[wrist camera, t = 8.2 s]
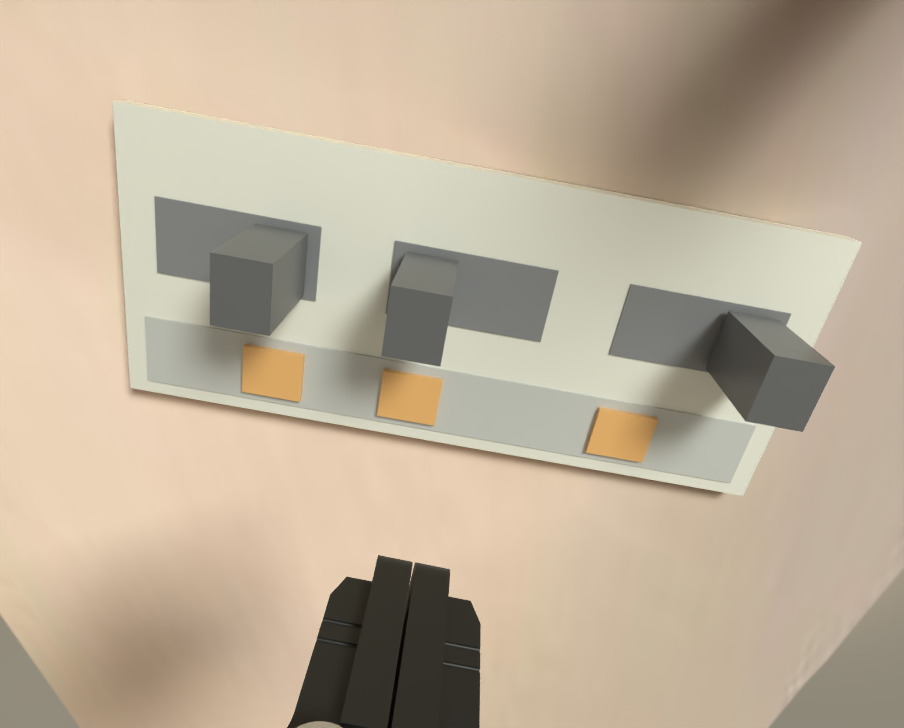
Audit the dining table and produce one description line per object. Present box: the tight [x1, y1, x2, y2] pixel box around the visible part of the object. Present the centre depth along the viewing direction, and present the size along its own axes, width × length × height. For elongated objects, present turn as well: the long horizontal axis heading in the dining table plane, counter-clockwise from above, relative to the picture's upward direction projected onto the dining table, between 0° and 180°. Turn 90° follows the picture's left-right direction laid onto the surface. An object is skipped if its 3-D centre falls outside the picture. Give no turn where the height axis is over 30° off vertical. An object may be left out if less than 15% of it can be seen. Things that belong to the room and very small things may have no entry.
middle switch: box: [381, 251, 459, 367], centre depth 26 cm, size 3×2×5 cm
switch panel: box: [112, 100, 862, 496], centre depth 30 cm, size 14×33×2 cm, turn 80°
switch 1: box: [210, 223, 308, 336], centre depth 26 cm, size 3×2×5 cm
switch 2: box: [706, 311, 835, 432], centre depth 26 cm, size 3×2×5 cm
